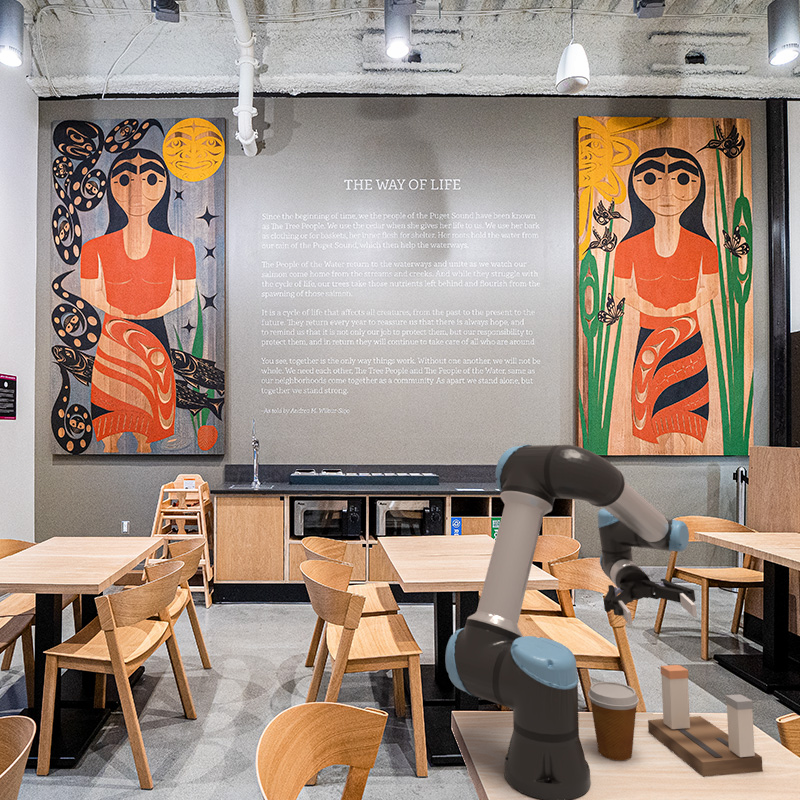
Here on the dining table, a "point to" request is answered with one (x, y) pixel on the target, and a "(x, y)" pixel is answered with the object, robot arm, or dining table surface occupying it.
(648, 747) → the dining table surface
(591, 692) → the disposable coffee cup
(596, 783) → the dining table surface
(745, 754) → the grey topped white block
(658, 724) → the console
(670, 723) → the orange topped beige block
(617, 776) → the dining table surface
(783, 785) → the dining table surface
